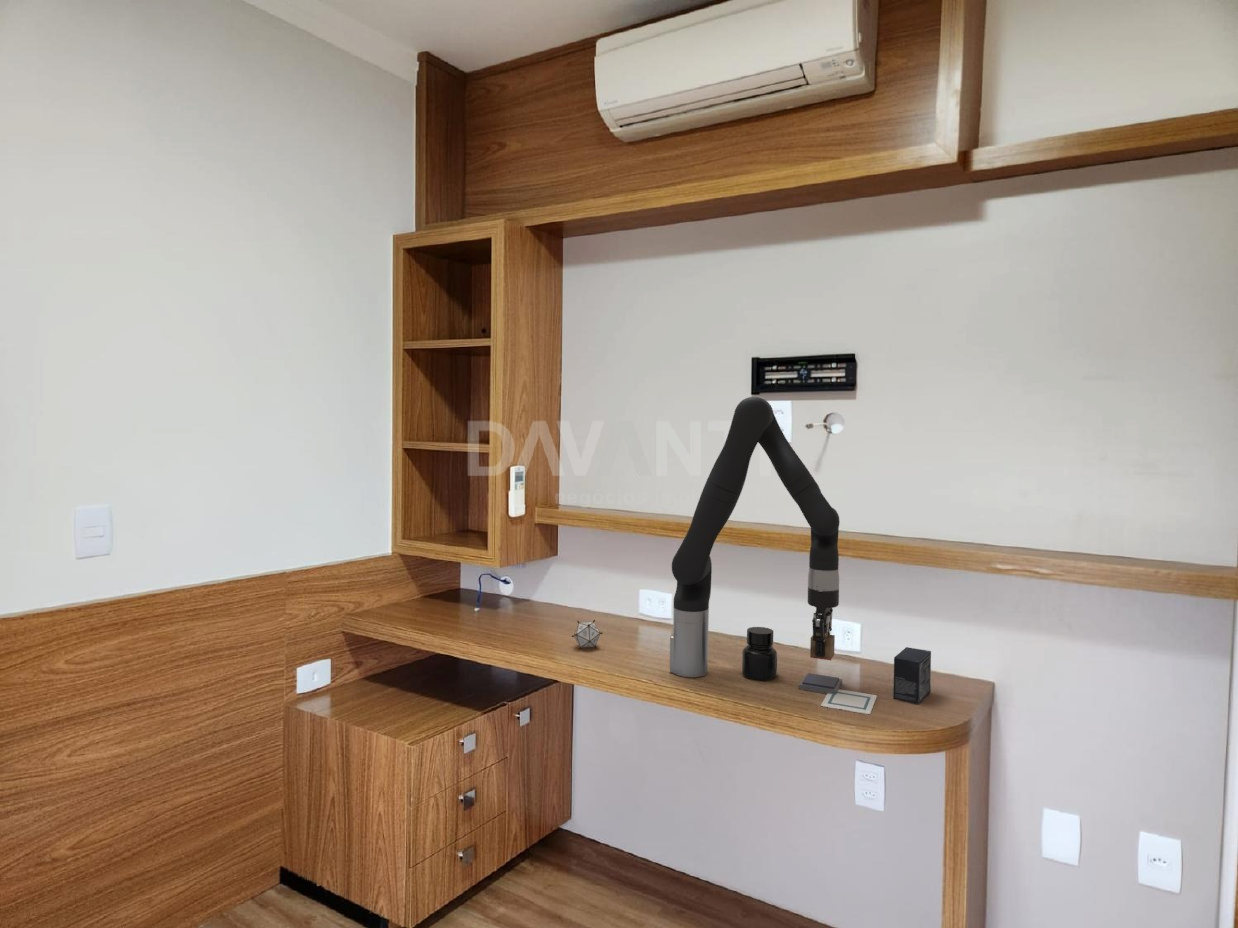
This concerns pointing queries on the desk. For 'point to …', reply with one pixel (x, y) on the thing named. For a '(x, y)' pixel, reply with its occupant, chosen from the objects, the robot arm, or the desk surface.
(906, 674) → the small box
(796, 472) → the robot arm
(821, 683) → the ink pad
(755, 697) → the desk surface
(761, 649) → the ink bottle
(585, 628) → the game die
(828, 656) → the stamp
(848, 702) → the sheet
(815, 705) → the desk surface
